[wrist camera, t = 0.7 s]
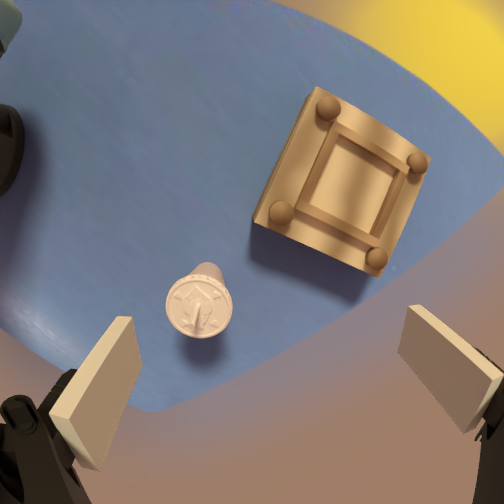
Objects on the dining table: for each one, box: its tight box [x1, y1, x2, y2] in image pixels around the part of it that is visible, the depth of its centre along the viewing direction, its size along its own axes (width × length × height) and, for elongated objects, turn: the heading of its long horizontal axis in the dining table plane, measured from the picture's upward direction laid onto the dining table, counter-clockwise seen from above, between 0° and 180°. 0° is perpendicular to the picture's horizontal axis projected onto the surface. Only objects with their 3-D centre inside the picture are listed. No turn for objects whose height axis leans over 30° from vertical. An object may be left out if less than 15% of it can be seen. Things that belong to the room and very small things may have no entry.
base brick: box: [252, 86, 431, 278], centre depth 31 cm, size 16×16×6 cm
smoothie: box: [166, 262, 233, 338], centre depth 29 cm, size 6×6×14 cm
